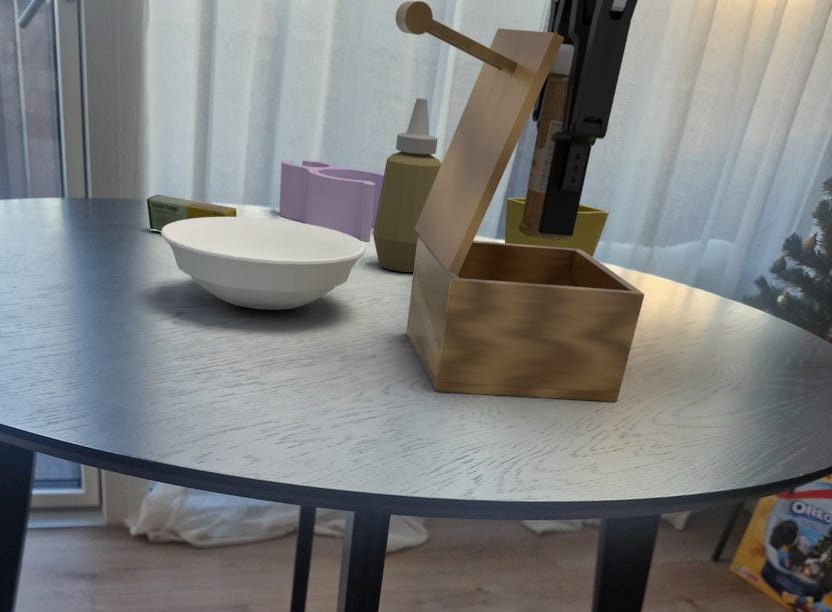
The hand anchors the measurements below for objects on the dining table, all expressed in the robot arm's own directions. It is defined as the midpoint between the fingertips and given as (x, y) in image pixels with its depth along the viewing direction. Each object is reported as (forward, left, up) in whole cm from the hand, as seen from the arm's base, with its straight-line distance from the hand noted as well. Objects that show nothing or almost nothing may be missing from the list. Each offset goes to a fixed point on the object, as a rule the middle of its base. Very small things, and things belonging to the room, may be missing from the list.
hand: (546, 226), depth 77 cm
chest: (+1, +1, -12) cm, 12 cm away
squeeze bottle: (+36, -11, -12) cm, 39 cm away
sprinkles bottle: (0, 0, -1) cm, 1 cm away
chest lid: (+3, +6, +5) cm, 8 cm away
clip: (+61, -16, -12) cm, 64 cm away
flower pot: (+26, -25, -12) cm, 37 cm away
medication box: (+54, +9, -12) cm, 56 cm away
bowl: (+24, +14, -12) cm, 30 cm away
